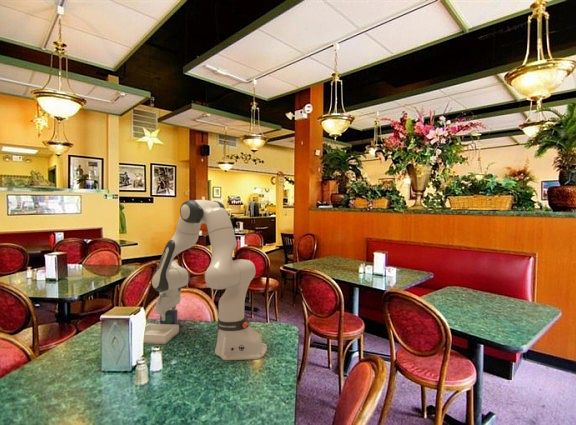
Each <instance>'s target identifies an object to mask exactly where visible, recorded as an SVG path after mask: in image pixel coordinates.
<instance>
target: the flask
mask: <svg viewBox="0 0 576 425" xmlns="http://www.w3.org/2000/svg"><path fill="white" fill-rule="evenodd" d="M165 317H166V320H165V321H162V317H161V315H160V314H159V324H174V325H179V323H178V309H175V310H171V309H170V310H168V311H167V312H166V314H165Z"/></svg>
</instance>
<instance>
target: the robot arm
mask: <svg viewBox="0 0 576 425" xmlns="http://www.w3.org/2000/svg"><path fill="white" fill-rule="evenodd" d="M179 214H180V215H179V218H178V221H177V224H176V230H175V231H174V234H173V235H172V237H171V239H170V240H168V241H167V242H166V244H165V247H164V248H163V251H162V253H161V257H160V259H159V263H158V264H157V268H156V270H155V271H154V274H153V275H152V277H151V286H152V288H153V289H154V290H155V291H156V292H159V295H158V298H157V299H156V303H155V314H156V315H159V316H160V315H161V317H162V321H165V320H166V317H165V314H166V312H167V311H168V310H177V305H179V304H180V302H181V297H182V296H181V294H182V293H181V291H182V287H186V286H187V285H188V284H189V283H190V279H191V275H190V271H189V270H187V269H186V268H185V267H182V266H180V264H178V261H177V260H174V259H175V257H176V256H178V255H179V254H180V253H182V252H183V251H186V250H188V249H191V248H192V247H194V246H195V245H196V244H197V242H198V240H199V237H200V232H201V226H202V225H204V224H205V225H206V229H207V233H208V238H209V242H210V247H211V260H210V263H209V266H207V268H206V271H205V273H204V281H205V284H206V285H207V287H208V288H210V290H225V291H224V292H223V294H222V295H221V297H220V298H219V301H218V318H217V324H216V326H217V327H216V328H217V338H216V346H215V349H214V354H215V355H216V356H218V357H220V358H221V360H223V361H237V360H238V361H239V360H240V361H241V360H242V361H243V360H259V359H261V358H263V357H264V356H265V355H266V353H267V351H268V346H267V344H266V343H264V342H263V341H262V336H261V334H260V333H259V332H258V331H256V330H255V329H254V328H253V327H251V326H250V325H249V324H250V318H249V317H248V318H247V317H246V316H245V300H246V296H247V293H248V292H247V291H248V289H249V286H250V284H251V281H252V280H253V279H254V278H255V276H256V274H257V273H256V266H255V264H254V262H252V261H251V260H249V259H243V258H242V259H241V258H240V259H234V260H233V253H234V250H236V248H237V246H238V243H237V242H238V241H237V238H236V234H235V231H234V226H233V223H232V220H231V217H230V215H229V213H228V212H227V210H226V208H225V205H224V204H223V203H222V202H220V201H217V200H209V199H188V200H186V201H184V202H182V204H181V206H180V209H179Z"/></svg>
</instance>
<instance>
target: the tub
mask: <svg viewBox="0 0 576 425" xmlns="http://www.w3.org/2000/svg"><path fill="white" fill-rule="evenodd" d="M145 326H146V327H145V334H144V343H143V344H148V345H166V344H167V343H168V342H170V341H171V340H172V339H173V338H174V337H175V336H177V335H178V334H180V325H179V324H178V325H174V324H160V323H146V325H145Z"/></svg>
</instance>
